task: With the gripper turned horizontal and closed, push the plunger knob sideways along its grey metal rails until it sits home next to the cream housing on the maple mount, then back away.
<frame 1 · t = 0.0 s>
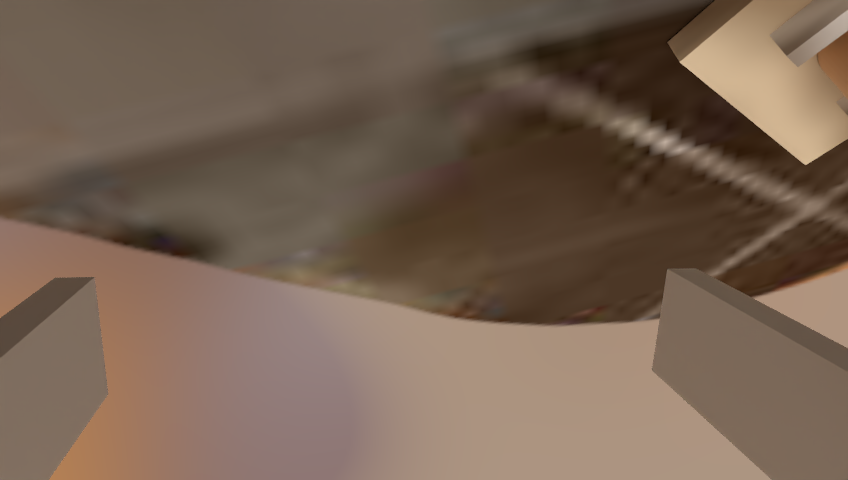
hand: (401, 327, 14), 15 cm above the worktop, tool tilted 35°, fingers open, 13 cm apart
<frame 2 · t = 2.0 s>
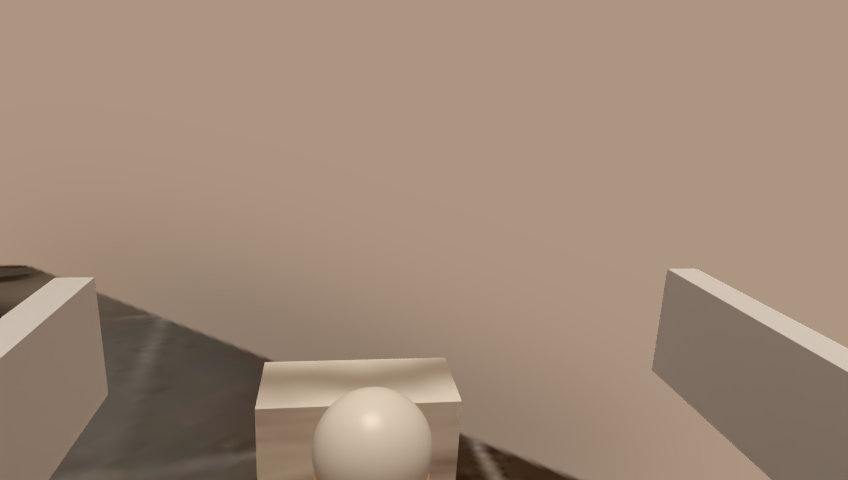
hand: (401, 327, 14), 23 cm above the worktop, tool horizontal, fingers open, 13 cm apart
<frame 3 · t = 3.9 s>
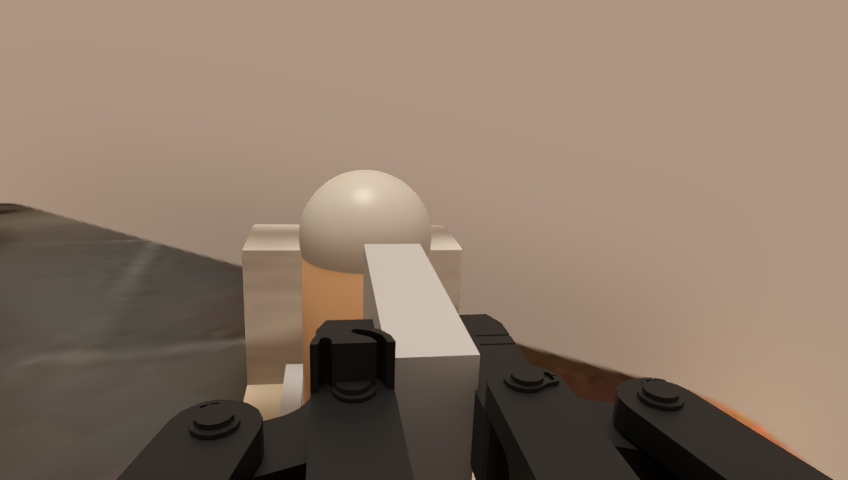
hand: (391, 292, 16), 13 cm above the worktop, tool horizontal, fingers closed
plunger knob: (364, 333, 24), point 9 cm above the worktop, slide at 0.0 cm
knob mount: (356, 450, 31), on the worktop
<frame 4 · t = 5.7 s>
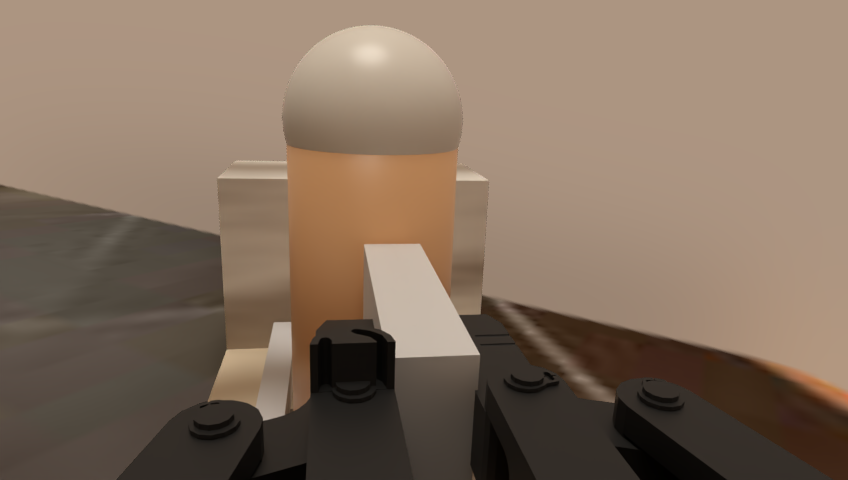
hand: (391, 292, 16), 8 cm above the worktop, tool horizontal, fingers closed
plunger knob: (371, 257, 18), point 8 cm above the worktop, slide at 0.0 cm, touching gripper
knob mount: (362, 425, 24), on the worktop
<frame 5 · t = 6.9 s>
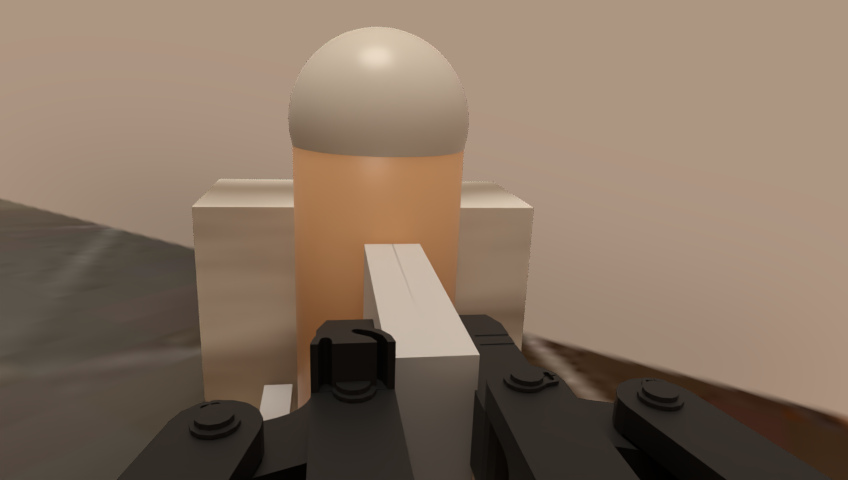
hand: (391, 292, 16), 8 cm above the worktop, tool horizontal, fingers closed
plunger knob: (377, 258, 18), point 8 cm above the worktop, slide at 5.7 cm, touching gripper
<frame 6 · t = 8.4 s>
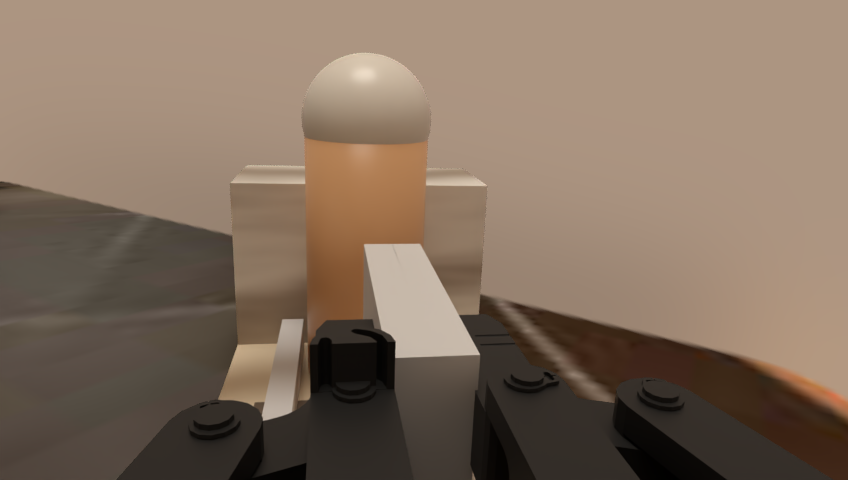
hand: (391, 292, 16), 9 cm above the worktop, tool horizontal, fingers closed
plunger knob: (365, 220, 25), point 9 cm above the worktop, slide at 5.5 cm
knob mount: (365, 417, 26), on the worktop
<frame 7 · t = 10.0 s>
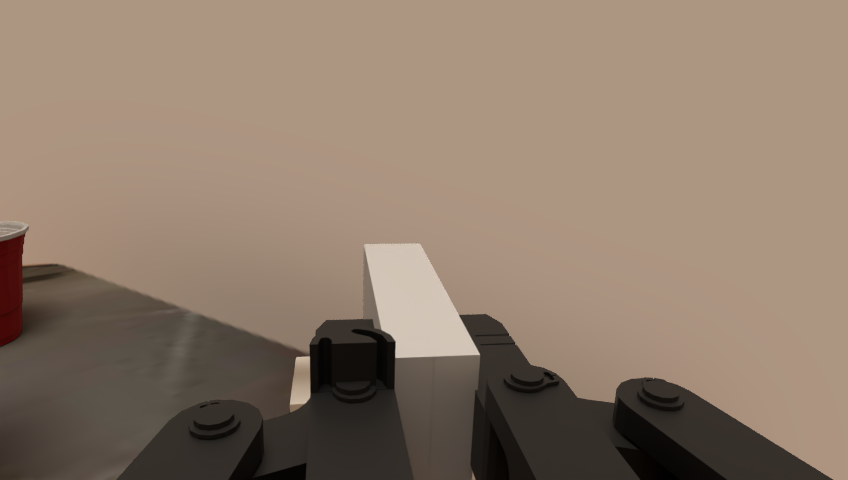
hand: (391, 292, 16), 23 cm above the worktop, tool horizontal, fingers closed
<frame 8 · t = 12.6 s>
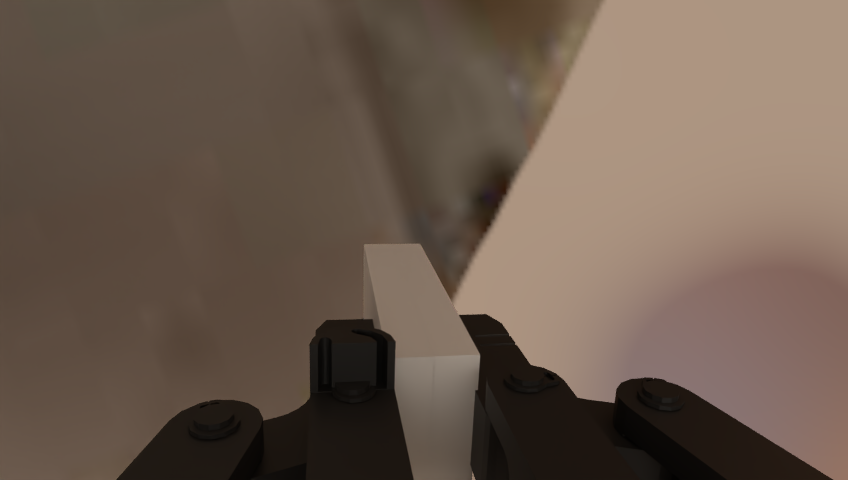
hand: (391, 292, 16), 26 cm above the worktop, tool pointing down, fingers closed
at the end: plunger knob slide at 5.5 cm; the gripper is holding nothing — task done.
